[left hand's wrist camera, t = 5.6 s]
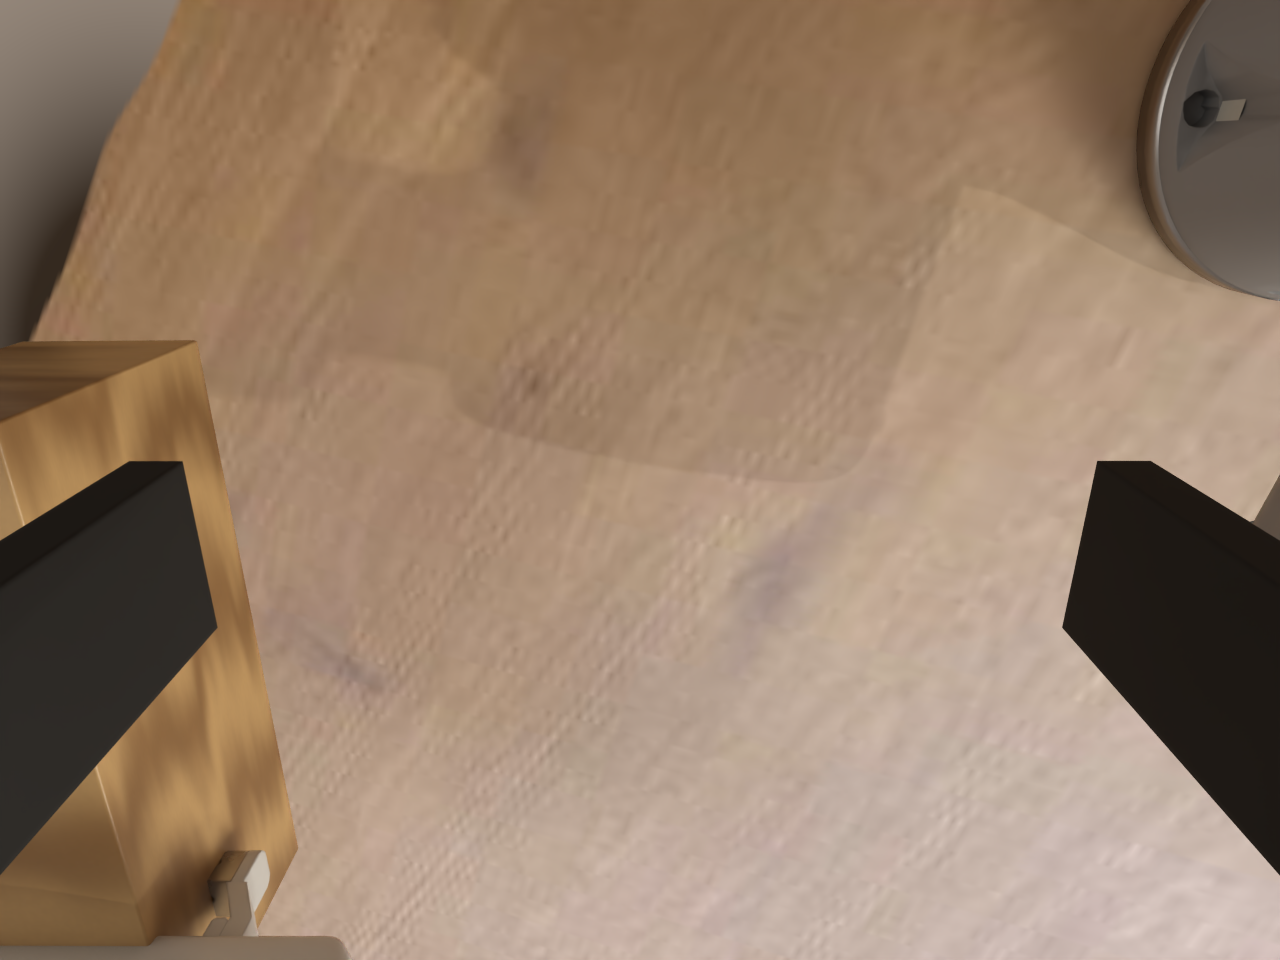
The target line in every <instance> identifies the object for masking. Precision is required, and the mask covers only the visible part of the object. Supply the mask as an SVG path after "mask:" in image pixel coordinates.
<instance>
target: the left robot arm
mask: <svg viewBox="0 0 1280 960" xmlns="http://www.w3.org/2000/svg"><path fill="white" fill-rule="evenodd" d="M1137 169H1138V176H1139V183H1140V188H1141V192H1142V196H1143V200H1144V203H1145V206H1146V209H1147V211H1148V214H1149V216H1150V219H1151V221H1152V223H1153V225H1154V227H1155V228H1156V230H1157V232H1158V234H1159V235H1160V237H1161V238H1162V240H1163V241H1164V243H1165V244H1166V246H1167V247H1168V248H1169V249H1170V250H1171V251H1172V252H1173V254H1174V255H1175V256H1176V257H1177V258H1178V259H1179V260H1180V261H1181V262H1183V263H1184V264H1185V265H1186V266H1187V267H1188V268H1190V269H1191V270H1192V271H1194V272H1195V273H1197V274H1198V275H1200V276H1201V277H1203V278H1205V279H1207V280H1209V281H1211V282H1212V283H1214V284H1217V285H1219V286H1222V287H1225V288H1227V289H1230V290H1234V291H1237V292H1241V293H1245V294H1249V295H1253V296H1258V297H1262V298H1266V299H1271V300H1278V301H1280V0H1191V1H1190V2H1189V3H1188V5H1187V6H1186V8H1185V9H1184V10H1183V12H1182V13H1181V15H1180V16H1179V18H1178V20H1177V21H1176V23H1175V24H1174V26H1173V28H1172V29H1171V31H1170V33H1169V35H1168V37H1167V39H1166V40H1165V42H1164V44H1163V46H1162V48H1161V50H1160V52H1159V55H1158V57H1157V59H1156V62H1155V64H1154V67H1153V69H1152V71H1151V74H1150V78H1149V81H1148V84H1147V87H1146V90H1145V93H1144V98H1143V102H1142V106H1141V111H1140V117H1139V124H1138V131H1137ZM217 628H218V626H217V622H216V617H215V612H214V607H213V603H212V598H211V593H210V588H209V584H208V579H207V574H206V569H205V565H204V560H203V555H202V550H201V546H200V541H199V536H198V531H197V527H196V522H195V517H194V512H193V508H192V503H191V498H190V493H189V489H188V484H187V479H186V474H185V470H184V465H183V461H129V462H127V463H125V464H124V465H122V466H120V467H119V468H117V469H116V470H114V471H112V472H111V473H109V474H107V475H106V476H104V477H103V478H101V479H99V480H98V481H96V482H94V483H93V484H91V485H90V486H88V487H86V488H85V489H83V490H81V491H80V492H78V493H77V494H75V495H73V496H72V497H70V498H68V499H67V500H65V501H64V502H62V503H60V504H59V505H57V506H55V507H54V508H52V509H51V510H49V511H47V512H46V513H44V514H42V515H41V516H39V517H38V518H36V519H34V520H33V521H31V522H29V523H28V524H26V525H25V526H23V527H21V528H20V529H18V530H16V531H15V532H13V533H12V534H10V535H8V536H7V537H5V538H3V539H2V540H0V875H1V874H2V873H3V872H4V870H5V869H6V868H7V867H8V866H9V865H10V864H11V862H12V861H13V860H14V859H15V858H16V857H17V856H18V854H19V853H20V852H21V851H22V850H23V849H24V848H25V846H26V845H27V844H28V843H29V842H30V841H31V840H32V838H33V837H34V836H35V835H36V834H37V833H38V832H39V831H40V829H41V828H42V827H43V826H44V825H45V824H46V823H47V821H48V820H49V819H50V818H51V817H52V816H53V815H54V813H55V812H56V811H57V810H58V809H59V808H60V807H61V805H62V804H63V803H64V802H65V801H66V800H67V799H68V798H69V796H70V795H71V794H72V793H73V792H74V791H75V790H76V788H77V787H78V786H79V785H80V784H81V783H82V782H83V780H84V779H85V778H86V777H87V776H88V775H89V774H90V772H91V771H92V770H93V769H94V768H95V767H96V766H97V764H98V763H99V762H100V761H101V760H102V759H103V758H104V757H105V755H106V754H107V753H108V752H109V751H110V750H111V749H112V747H113V746H114V745H115V744H116V743H117V742H118V741H119V739H120V738H121V737H122V736H123V735H124V734H125V733H126V731H127V730H128V729H129V728H130V727H131V726H132V725H133V723H134V722H135V721H136V720H137V719H138V718H139V717H140V716H141V714H142V713H143V712H144V711H145V710H146V709H147V708H148V706H149V705H150V704H151V703H152V702H153V701H154V700H155V698H156V697H157V696H158V695H159V694H160V693H161V692H162V690H163V689H164V688H165V687H166V686H167V685H168V684H169V682H170V681H171V680H172V679H173V678H174V677H175V676H176V675H177V673H178V672H179V671H180V670H181V669H182V668H183V667H184V665H185V664H186V663H187V662H188V661H189V660H190V659H191V657H192V656H193V655H194V654H195V653H196V652H197V651H198V649H199V648H200V647H201V646H202V645H203V644H204V643H205V642H206V640H207V639H208V638H209V637H210V636H211V635H212V634H213V632H214V631H215V630H216V629H217ZM1062 628H1063V629H1064V630H1065V631H1066V632H1067V634H1068V635H1069V636H1070V637H1071V638H1072V639H1073V640H1074V642H1075V643H1076V644H1077V645H1078V646H1079V647H1080V648H1081V649H1082V651H1083V652H1084V653H1085V654H1086V655H1087V656H1088V657H1089V659H1090V660H1091V661H1092V662H1093V663H1094V664H1095V665H1096V667H1097V668H1098V669H1099V670H1100V671H1101V672H1102V673H1103V675H1104V676H1105V677H1106V678H1107V679H1108V680H1109V681H1110V682H1111V684H1112V685H1113V686H1114V687H1115V688H1116V689H1117V690H1118V692H1119V693H1120V694H1121V695H1122V696H1123V697H1124V698H1125V700H1126V701H1127V702H1128V703H1129V704H1130V705H1131V706H1132V708H1133V709H1134V710H1135V711H1136V712H1137V713H1138V714H1139V716H1140V717H1141V718H1142V719H1143V720H1144V721H1145V722H1146V723H1147V725H1148V726H1149V727H1150V728H1151V729H1152V730H1153V731H1154V733H1155V734H1156V735H1157V736H1158V737H1159V738H1160V739H1161V741H1162V742H1163V743H1164V744H1165V745H1166V746H1167V747H1168V749H1169V750H1170V751H1171V752H1172V753H1173V754H1174V755H1175V757H1176V758H1177V759H1178V760H1179V761H1180V762H1181V763H1182V764H1183V766H1184V767H1185V768H1186V769H1187V770H1188V771H1189V772H1190V774H1191V775H1192V776H1193V777H1194V778H1195V779H1196V780H1197V782H1198V783H1199V784H1200V785H1201V786H1202V787H1203V788H1204V790H1205V791H1206V792H1207V793H1208V794H1209V795H1210V796H1211V798H1212V799H1213V800H1214V801H1215V802H1216V803H1217V804H1218V805H1219V807H1220V808H1221V809H1222V810H1223V811H1224V812H1225V813H1226V815H1227V816H1228V817H1229V818H1230V819H1231V820H1232V821H1233V823H1234V824H1235V825H1236V826H1237V827H1238V828H1239V829H1240V831H1241V832H1242V833H1243V834H1244V835H1245V836H1246V837H1247V838H1248V840H1249V841H1250V842H1251V843H1252V844H1253V845H1254V846H1255V848H1256V849H1257V850H1258V851H1259V852H1260V853H1261V854H1262V856H1263V857H1264V858H1265V859H1266V860H1267V861H1268V862H1269V864H1270V865H1271V866H1272V867H1273V868H1274V869H1275V870H1276V872H1277V873H1278V874H1279V875H1280V475H1279V477H1278V479H1277V481H1276V483H1275V484H1274V486H1273V488H1272V490H1271V492H1270V493H1269V495H1268V497H1267V499H1266V501H1265V502H1264V504H1263V506H1262V508H1261V510H1260V511H1259V513H1258V515H1257V517H1256V518H1255V520H1254V521H1251V522H1249V521H1247V520H1246V519H1244V518H1242V517H1241V516H1239V515H1238V514H1236V513H1234V512H1233V511H1231V510H1229V509H1228V508H1226V507H1225V506H1223V505H1221V504H1220V503H1218V502H1216V501H1215V500H1213V499H1212V498H1210V497H1208V496H1207V495H1205V494H1203V493H1202V492H1200V491H1199V490H1197V489H1195V488H1194V487H1192V486H1190V485H1189V484H1187V483H1186V482H1184V481H1182V480H1181V479H1179V478H1177V477H1176V476H1174V475H1173V474H1171V473H1169V472H1168V471H1166V470H1164V469H1163V468H1161V467H1160V466H1158V465H1156V464H1155V463H1153V462H1151V461H1097V465H1096V470H1095V474H1094V479H1093V484H1092V489H1091V493H1090V498H1089V503H1088V508H1087V512H1086V517H1085V522H1084V527H1083V531H1082V536H1081V541H1080V546H1079V550H1078V555H1077V560H1076V565H1075V569H1074V574H1073V579H1072V584H1071V588H1070V593H1069V598H1068V603H1067V607H1066V612H1065V617H1064V622H1063V626H1062Z"/></svg>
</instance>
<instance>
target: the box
mask: <svg viewBox="0 0 1280 960" xmlns="http://www.w3.org/2000/svg"><path fill="white" fill-rule="evenodd" d="M129 461H183V465H184V470H185V474H186V479H187V484H188V489H189V493H190V498H191V503H192V508H193V512H194V517H195V522H196V527H197V531H198V536H199V541H200V546H201V550H202V555H203V560H204V565H205V569H206V574H207V579H208V584H209V588H210V593H211V598H212V603H213V607H214V612H215V617H216V622H217V626H218V628H217V629H216V630H215V631H214V632H213V634H212V635H211V636H210V637H209V638H208V639H207V640H206V642H205V643H204V644H203V645H202V646H201V647H200V648H199V649H198V651H197V652H196V653H195V654H194V655H193V656H192V657H191V659H190V660H189V661H188V662H187V663H186V664H185V665H184V667H183V668H182V669H181V670H180V671H179V672H178V673H177V675H176V676H175V677H174V678H173V679H172V680H171V681H170V682H169V684H168V685H167V686H166V687H165V688H164V689H163V690H162V692H161V693H160V694H159V695H158V696H157V697H156V698H155V700H154V701H153V702H152V703H151V704H150V705H149V706H148V708H147V709H146V710H145V711H144V712H143V713H142V714H141V716H140V717H139V718H138V719H137V720H136V721H135V722H134V723H133V725H132V726H131V727H130V728H129V729H128V730H127V731H126V733H125V734H124V735H123V736H122V737H121V738H120V739H119V741H118V742H117V743H116V744H115V745H114V746H113V747H112V749H111V750H110V751H109V752H108V753H107V754H106V755H105V757H104V758H103V759H102V760H101V761H100V762H99V763H98V764H97V766H96V767H95V768H94V769H93V770H92V771H91V772H90V774H89V775H88V776H87V777H86V778H85V779H84V780H83V782H82V783H81V784H80V785H79V786H78V787H77V788H76V790H75V791H74V792H73V793H72V794H71V795H70V796H69V798H68V799H67V800H66V801H65V802H64V803H63V804H62V805H61V807H60V808H59V809H58V810H57V811H56V812H55V813H54V815H53V816H52V817H51V818H50V819H49V820H48V821H47V823H46V824H45V825H44V826H43V827H42V828H41V829H40V831H39V832H38V833H37V834H36V835H35V836H34V837H33V838H32V840H31V841H30V842H29V843H28V844H27V845H26V846H25V848H24V849H23V850H22V851H21V852H20V853H19V854H18V856H17V857H16V858H15V859H14V860H13V861H12V862H11V864H10V865H9V866H8V867H7V868H6V869H5V870H4V872H3V873H2V874H1V875H0V946H149V945H150V944H151V943H152V942H153V941H154V939H155V938H156V937H157V936H203V934H204V932H205V931H206V929H207V927H208V926H209V924H210V922H211V920H213V919H214V918H223V917H221V916H216V914H215V910H214V907H213V903H212V902H213V900H214V898H213V897H211V895H210V891H209V887H208V883H207V880H208V879H209V877H210V875H211V874H212V872H213V871H214V869H215V867H216V866H217V865H218V864H220V863H221V861H220V859H221V857H222V856H223V854H224V853H225V852H226V851H234V850H263V851H265V853H266V856H267V861H268V866H269V870H270V879H269V884H268V887H267V889H266V891H265V893H264V895H263V897H262V899H261V901H260V903H259V905H258V907H257V909H256V910H255V912H254V914H255V918H256V925H257V929H258V927H259V925H260V923H261V921H262V919H263V917H264V915H265V913H266V911H267V909H268V907H269V905H270V903H271V901H272V899H273V897H274V895H275V893H276V891H277V889H278V887H279V885H280V883H281V881H282V879H283V877H284V875H285V873H286V871H287V869H288V867H289V866H290V864H291V862H292V860H293V858H294V856H295V854H296V852H297V850H298V845H297V840H296V835H295V830H294V825H293V820H292V815H291V810H290V805H289V800H288V795H287V790H286V785H285V780H284V775H283V770H282V765H281V760H280V755H279V750H278V745H277V740H276V735H275V730H274V725H273V720H272V715H271V710H270V705H269V700H268V695H267V690H266V685H265V680H264V675H263V670H262V665H261V660H260V655H259V650H258V645H257V640H256V635H255V630H254V625H253V620H252V615H251V610H250V605H249V600H248V595H247V590H246V585H245V580H244V575H243V570H242V565H241V560H240V555H239V550H238V545H237V540H236V535H235V530H234V525H233V520H232V515H231V510H230V505H229V500H228V495H227V490H226V485H225V480H224V475H223V470H222V465H221V460H220V455H219V450H218V445H217V440H216V435H215V430H214V425H213V420H212V415H211V410H210V405H209V400H208V395H207V390H206V385H205V380H204V375H203V370H202V365H201V360H200V355H199V350H198V345H197V342H196V341H194V340H180V341H48V342H20V343H17V344H14V345H11V346H7V347H4V348H0V540H2V539H3V538H5V537H7V536H8V535H10V534H12V533H13V532H15V531H16V530H18V529H20V528H21V527H23V526H25V525H26V524H28V523H29V522H31V521H33V520H34V519H36V518H38V517H39V516H41V515H42V514H44V513H46V512H47V511H49V510H51V509H52V508H54V507H55V506H57V505H59V504H60V503H62V502H64V501H65V500H67V499H68V498H70V497H72V496H73V495H75V494H77V493H78V492H80V491H81V490H83V489H85V488H86V487H88V486H90V485H91V484H93V483H94V482H96V481H98V480H99V479H101V478H103V477H104V476H106V475H107V474H109V473H111V472H112V471H114V470H116V469H117V468H119V467H120V466H122V465H124V464H125V463H127V462H129ZM226 918H227V920H229V918H230V917H226Z"/></svg>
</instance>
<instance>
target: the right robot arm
mask: <svg viewBox="0 0 1280 960" xmlns="http://www.w3.org/2000/svg"><path fill="white" fill-rule="evenodd" d="M220 861H221V863H220V864H218V865H217V866H216V867H215V869H214V871H213V872H212V874H211V875H210V877H209V879H208V880H207V883H208V887H209V891H210V895H211V897H213V898H214V900H213V902H212V903H213V907H214V910H215V914H216V916H221V917H223V918H214V919H213V920H211V922H210V924H209V926H208V927H207V929H206V931H205V932H204V934H203V936H157V937H156V938H155V939H154V941H153V942H152V943H151V944H150V945H149V946H0V960H352V958H351V956H350V954H349V952H348V950H347V948H346V947H345V945H344V944H343V942H342V941H341V940H340V939H338V938H336V937H332V936H258V931H257V925H256V918H255V914H254V912H255V910H256V909H257V907H258V905H259V903H260V901H261V899H262V897H263V895H264V893H265V891H266V889H267V887H268V884H269V879H270V870H269V866H268V861H267V856H266V853H265V851H263V850H234V851H226V852H225V853H224V854H223V856H222V857H221V859H220ZM226 917H230V918H229V920H227V918H226Z"/></svg>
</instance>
